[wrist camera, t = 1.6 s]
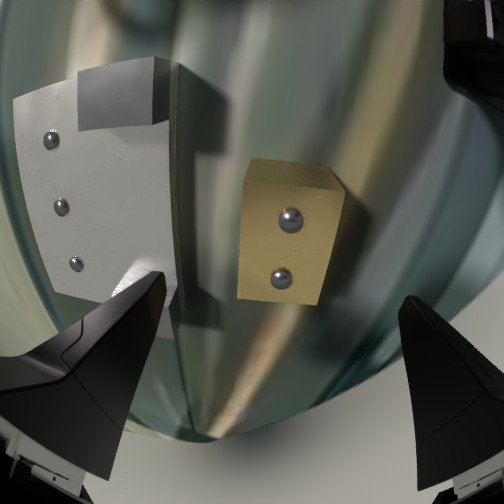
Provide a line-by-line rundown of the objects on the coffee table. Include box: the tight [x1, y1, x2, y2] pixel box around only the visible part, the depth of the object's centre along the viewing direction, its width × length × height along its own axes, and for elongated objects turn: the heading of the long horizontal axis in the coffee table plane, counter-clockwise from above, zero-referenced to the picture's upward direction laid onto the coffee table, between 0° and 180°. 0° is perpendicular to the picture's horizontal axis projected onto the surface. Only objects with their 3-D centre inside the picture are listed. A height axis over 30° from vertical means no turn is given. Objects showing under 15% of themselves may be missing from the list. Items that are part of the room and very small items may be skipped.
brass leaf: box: [237, 158, 346, 305], centre depth 13 cm, size 4×6×4 cm, turn 176°
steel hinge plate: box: [13, 57, 186, 339], centre depth 14 cm, size 12×16×3 cm
